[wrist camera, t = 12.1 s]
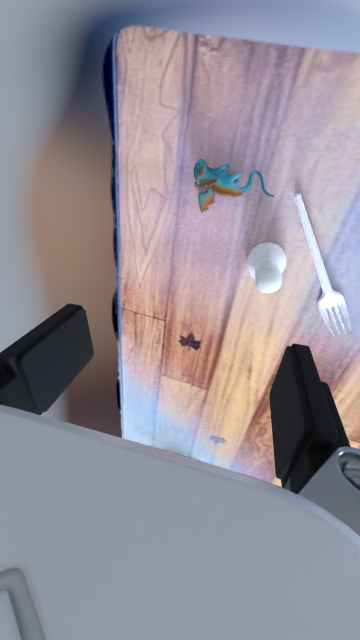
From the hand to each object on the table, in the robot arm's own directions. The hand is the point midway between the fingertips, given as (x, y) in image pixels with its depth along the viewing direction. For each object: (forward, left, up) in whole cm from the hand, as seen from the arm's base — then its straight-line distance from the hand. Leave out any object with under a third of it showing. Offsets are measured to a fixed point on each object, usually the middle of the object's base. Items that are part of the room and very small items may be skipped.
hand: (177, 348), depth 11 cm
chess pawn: (+3, +6, -26) cm, 27 cm away
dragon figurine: (-6, -1, -26) cm, 27 cm away
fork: (+3, +13, -26) cm, 29 cm away
